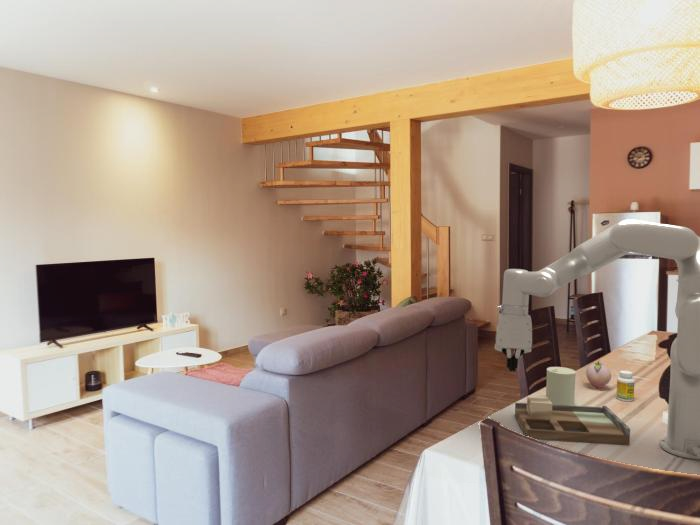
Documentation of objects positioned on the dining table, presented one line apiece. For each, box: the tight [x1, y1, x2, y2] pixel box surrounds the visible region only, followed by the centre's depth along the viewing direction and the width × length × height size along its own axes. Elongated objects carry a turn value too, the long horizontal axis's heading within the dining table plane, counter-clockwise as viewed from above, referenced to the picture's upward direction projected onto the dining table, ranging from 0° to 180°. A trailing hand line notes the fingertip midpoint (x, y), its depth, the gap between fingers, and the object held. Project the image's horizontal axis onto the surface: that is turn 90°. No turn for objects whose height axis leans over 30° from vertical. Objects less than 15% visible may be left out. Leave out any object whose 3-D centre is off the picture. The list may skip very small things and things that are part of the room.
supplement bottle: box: [616, 370, 635, 402], centre depth 186 cm, size 5×5×10 cm
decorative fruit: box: [585, 361, 612, 389], centre depth 198 cm, size 9×8×10 cm
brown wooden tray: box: [514, 402, 631, 446], centre depth 157 cm, size 19×27×4 cm
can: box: [545, 366, 577, 406], centre depth 179 cm, size 9×9×12 cm
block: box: [526, 395, 552, 419], centre depth 162 cm, size 6×6×4 cm
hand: (511, 370), depth 162 cm, fingers closed
